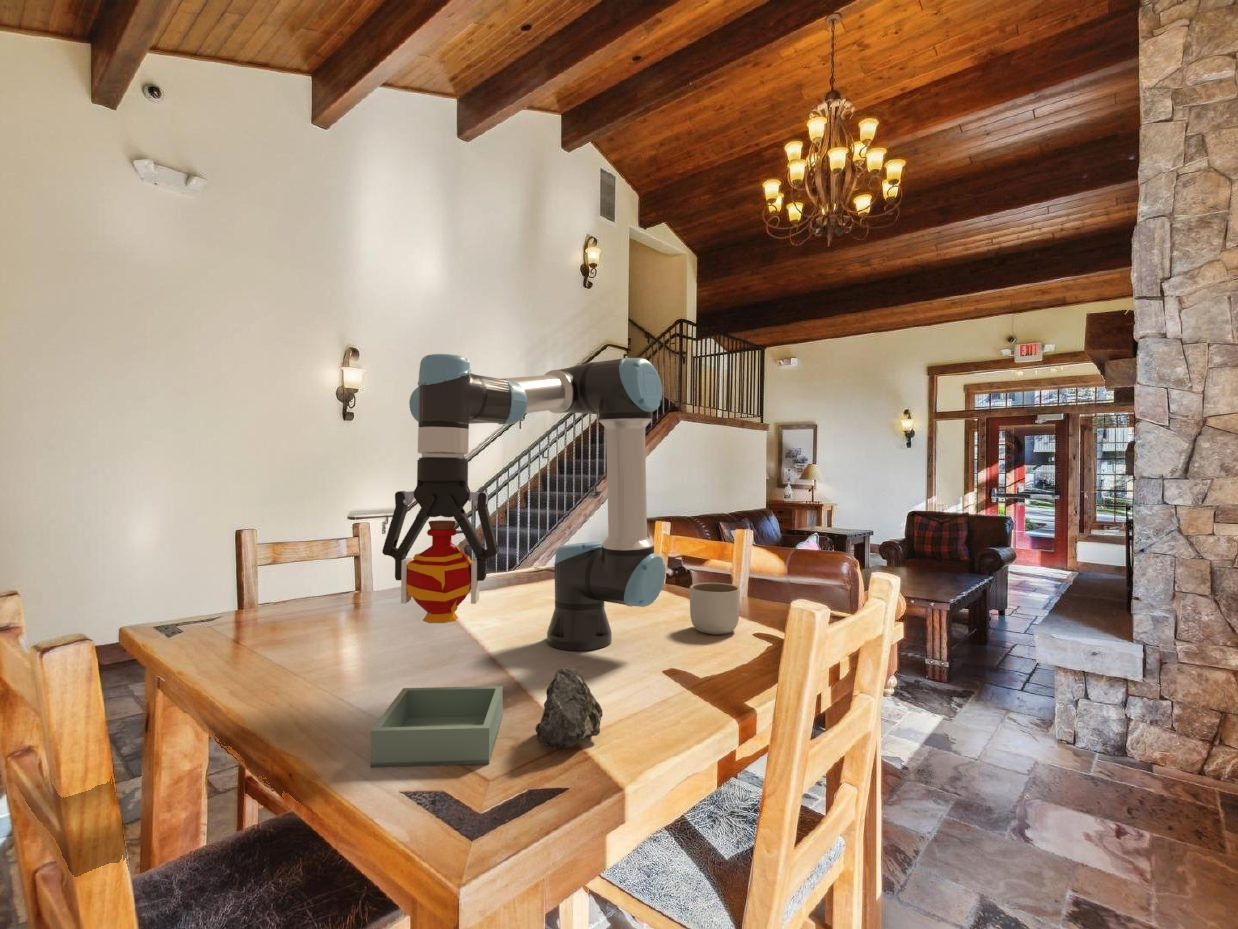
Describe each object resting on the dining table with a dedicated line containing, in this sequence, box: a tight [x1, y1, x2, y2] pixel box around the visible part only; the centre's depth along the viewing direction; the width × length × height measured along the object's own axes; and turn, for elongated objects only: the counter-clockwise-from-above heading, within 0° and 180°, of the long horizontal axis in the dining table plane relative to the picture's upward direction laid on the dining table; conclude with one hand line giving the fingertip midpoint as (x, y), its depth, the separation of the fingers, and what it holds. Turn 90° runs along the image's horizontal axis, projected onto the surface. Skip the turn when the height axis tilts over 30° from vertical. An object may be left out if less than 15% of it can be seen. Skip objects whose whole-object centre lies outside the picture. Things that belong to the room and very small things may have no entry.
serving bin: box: [369, 685, 504, 768], centre depth 92 cm, size 16×16×5 cm
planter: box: [689, 582, 741, 635], centre depth 154 cm, size 12×12×11 cm
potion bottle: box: [406, 519, 472, 624], centre depth 94 cm, size 10×10×15 cm
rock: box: [535, 666, 603, 750], centre depth 93 cm, size 12×10×10 cm
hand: (440, 601), depth 94 cm, fingers closed on potion bottle, 10 cm apart
